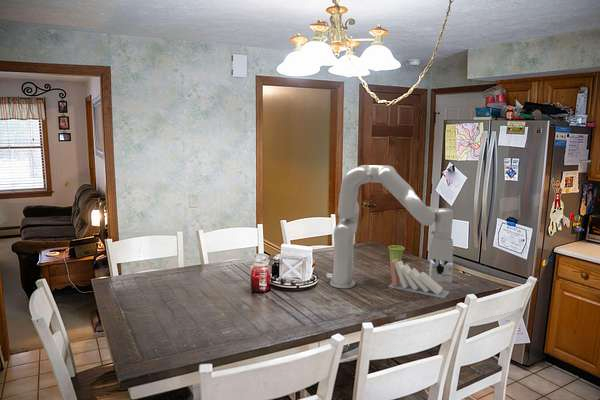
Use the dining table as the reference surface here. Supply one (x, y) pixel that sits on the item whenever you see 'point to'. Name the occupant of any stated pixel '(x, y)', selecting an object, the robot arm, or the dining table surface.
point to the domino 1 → (394, 273)
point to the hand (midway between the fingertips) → (439, 273)
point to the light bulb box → (445, 276)
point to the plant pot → (396, 252)
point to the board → (421, 290)
